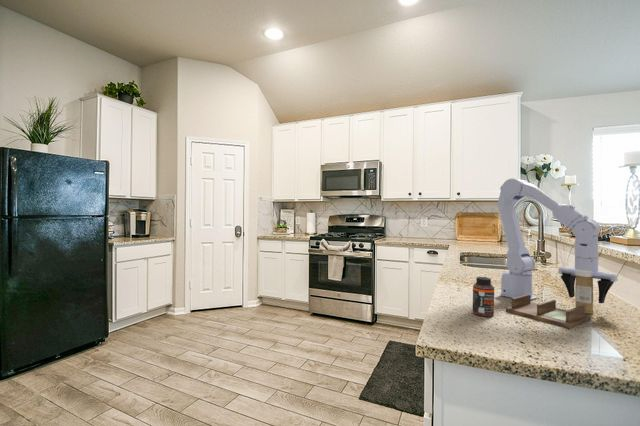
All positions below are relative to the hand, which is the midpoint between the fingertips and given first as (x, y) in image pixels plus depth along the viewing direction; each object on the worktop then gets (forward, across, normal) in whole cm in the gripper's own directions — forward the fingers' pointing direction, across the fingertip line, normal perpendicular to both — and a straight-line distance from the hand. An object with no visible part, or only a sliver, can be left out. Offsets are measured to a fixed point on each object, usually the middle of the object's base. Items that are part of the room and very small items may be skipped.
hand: (586, 299), depth 100 cm
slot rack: (+4, +5, +16) cm, 17 cm away
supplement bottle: (+4, +15, +32) cm, 35 cm away
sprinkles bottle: (+4, 0, +2) cm, 4 cm away
